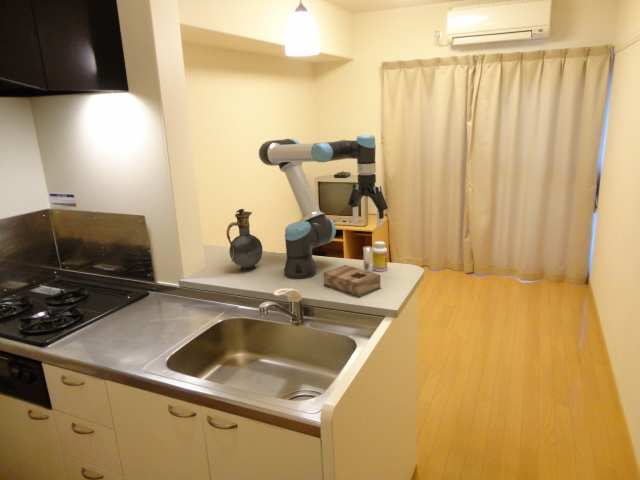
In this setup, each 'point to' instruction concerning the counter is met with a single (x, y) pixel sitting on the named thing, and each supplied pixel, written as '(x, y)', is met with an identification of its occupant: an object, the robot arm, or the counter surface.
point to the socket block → (352, 280)
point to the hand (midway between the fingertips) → (367, 223)
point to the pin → (368, 258)
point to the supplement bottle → (379, 256)
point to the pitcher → (244, 243)
